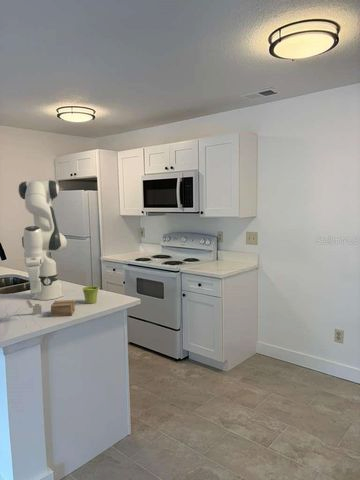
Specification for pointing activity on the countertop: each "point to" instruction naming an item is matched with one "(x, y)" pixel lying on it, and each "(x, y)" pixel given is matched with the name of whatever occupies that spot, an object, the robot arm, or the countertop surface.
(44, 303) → the countertop surface
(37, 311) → the lighter
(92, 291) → the plant pot
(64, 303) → the walnut block
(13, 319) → the countertop surface
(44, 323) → the countertop surface
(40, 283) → the sage block
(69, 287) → the countertop surface
